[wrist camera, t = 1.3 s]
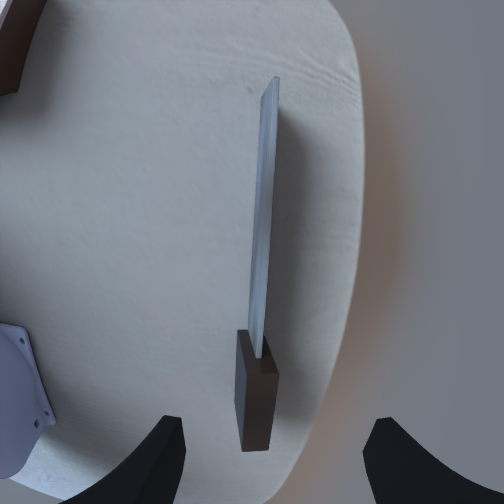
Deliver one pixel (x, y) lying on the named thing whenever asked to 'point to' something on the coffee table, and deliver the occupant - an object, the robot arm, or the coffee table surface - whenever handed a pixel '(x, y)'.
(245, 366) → the knife
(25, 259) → the coffee table surface
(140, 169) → the coffee table surface
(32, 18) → the cake slice
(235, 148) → the coffee table surface
